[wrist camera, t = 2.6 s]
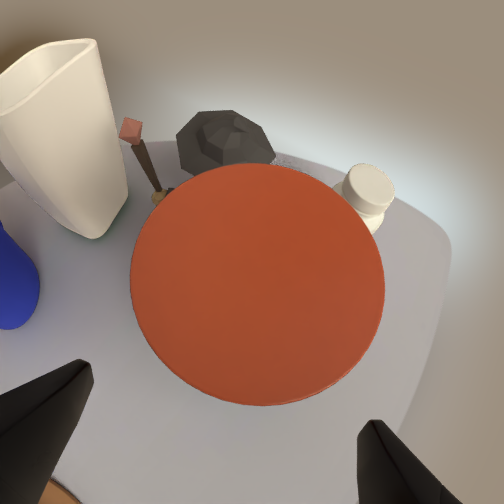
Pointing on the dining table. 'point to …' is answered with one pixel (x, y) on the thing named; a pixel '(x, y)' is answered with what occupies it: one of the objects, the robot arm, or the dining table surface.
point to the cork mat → (56, 495)
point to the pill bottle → (367, 193)
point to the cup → (63, 135)
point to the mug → (16, 284)
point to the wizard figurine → (205, 145)
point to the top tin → (257, 284)
